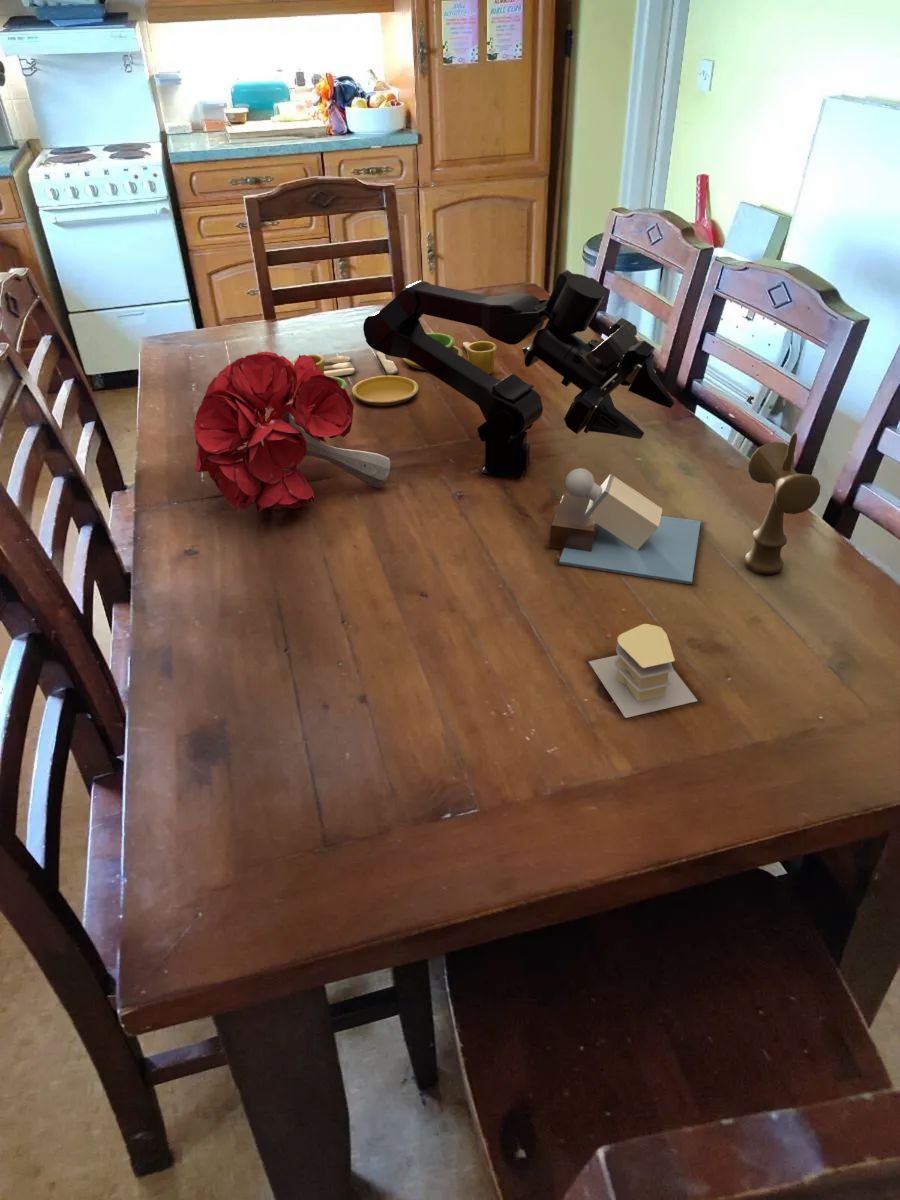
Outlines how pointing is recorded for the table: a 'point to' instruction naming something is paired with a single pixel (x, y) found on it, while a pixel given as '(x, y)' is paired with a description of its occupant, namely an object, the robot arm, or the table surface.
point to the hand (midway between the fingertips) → (657, 420)
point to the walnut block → (573, 525)
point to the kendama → (778, 501)
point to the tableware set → (397, 387)
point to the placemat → (644, 552)
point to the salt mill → (616, 507)
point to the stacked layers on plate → (642, 673)
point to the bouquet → (275, 431)
